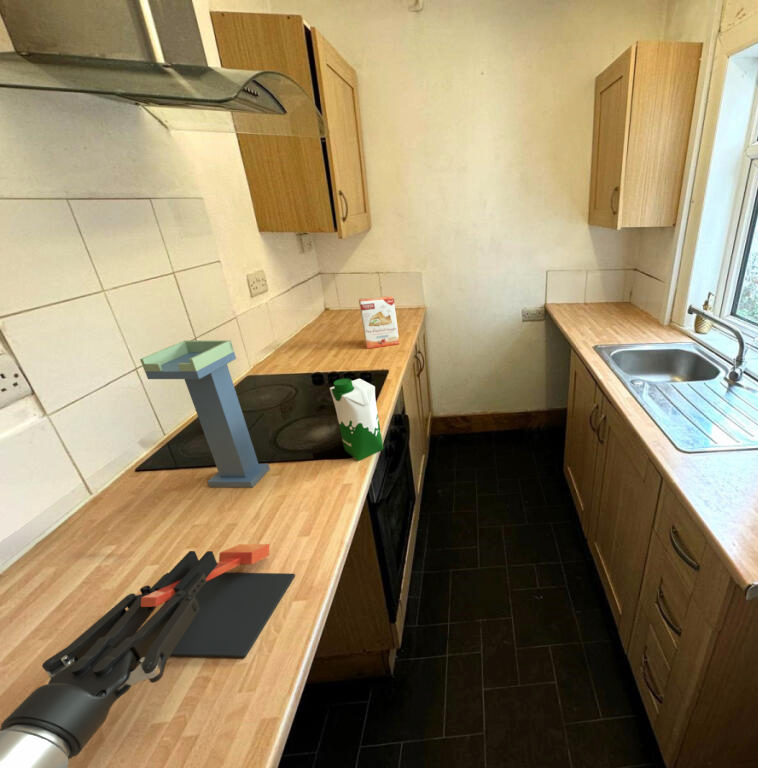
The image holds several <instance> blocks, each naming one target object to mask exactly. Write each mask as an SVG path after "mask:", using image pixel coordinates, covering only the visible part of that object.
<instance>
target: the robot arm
mask: <svg viewBox="0 0 758 768" xmlns="http://www.w3.org/2000/svg"><path fill="white" fill-rule="evenodd" d="M217 563H218V561H217V560H216V557H215V555H214V552H213V551H212V550H207V551H206V552H205V553H203V555H202V556H201V557H200V558H199V557H198V556H197V553H196V551H195V550H189V551H188V552H187V553H186V554H185V555H184V556H183V557H182V559H180V560H179V561H178V563H176V565H174V567H173V568H172V569H171V570H170V571H169V572H166V573H165V574H163V575H162V576H161V577H160V578H159V579H158V580H157V581H156V582H155V584H153V586H150V585H144V586H142V587H141V588H140V589H139V590H140V593H141V594H137V595H136V593H129V594H127V595H126V596H124V598H122V599H121V600H120V601H119V602H118V603H116V604H115V605H114V606H113V607H111V609H110V610H109V611H107V612H106V613H105V614H104V615H102V616H101V617H100V618H99V619H98V620H96V621H95V622H94V623H93V624H92V625H91V626H89V628H87V629H86V630H85V631H84V632H82V634H80V635H79V636H78V637H77V638H76V639H75V640H73V641H72V642H71V643H70V644H69V645H68V646H67V647H66V646H65V648H63V649H62V650H60V651H59V652H56V654H53V655H52V656H51V657H49V658H48V659H46V660H45V661H43V663H42V665H41V667H42V668H43V669H44V671H45V672H46V674H47V675H48V676H49V678H50V679H49V681H48V683H46V684H43V685H41V686H39V687H37V688H36V689H35V690H33V691H32V692H31V693H30V694H29V695H28V696H27V697H26V698H25V699H24V700H23V702H21V703H20V704H19V705H18V706H17V707H16V708H15V709H14V710H13V711H12V712H11V713H10V714H9V715H8V716H7V717H6V718H5V719H4V720H3V722H1V725H0V768H68V767H69V763H70V759H72V758H74V757H76V756H77V755H79V754H80V753H81V752H82V751H83V749H84V748H85V747H86V745H88V743H89V742H90V740H91V739H92V738H93V737H94V735H96V733H97V732H98V731H99V730H100V729H101V727H102V726H103V724H104V723H105V722H106V720H107V719H108V715H109V713H110V710H111V708H112V707H113V705H114V703H116V701H117V700H119V699H120V698H121V697H122V696H124V695H125V694H126V693H127V692H128V691H129V690H130V689H131V688H132V686H133V685H135V684H138V683H140V682H143V681H146V680H148V681H149V683H151V684H152V683H157V682H158V681H159V680H161V679H162V677H163V676H164V673H165V668H166V664H167V661H168V660H169V659H170V655H171V654H172V652H173V651H174V649H175V647H176V646H177V644H178V643H179V641H180V640H181V638H182V637H183V635H184V633H185V632H186V630H187V629H188V627H189V626H190V624H191V623H192V621H193V619H194V618H195V616H196V615H197V613H198V612H199V610H200V607H199V605H198V602H197V600H196V598H195V595H196V594H197V593H198V592H199V590H200V589H201V588H202V587H203V586H204V584H205V583H206V581H207V579H206V578H207V577H208V575H209V574H210V573H211V572H212V571H213V569H214V568H215V567H216V566H217V565H218V564H217ZM181 579H182V580H181ZM179 580H181V581H180V582H179V583H178V584H177V585H176V586H175V587H174V588H173V589H174V590H175V592H176V593H175V594H174V595H173V596H172V597H171V598H170V599H169V600H168V601H166V603H165V602H164V603H165V604H164V603H163V604H164V605H163V604H162V605H161V607H159V609H158V610H157V611H156V612H155V613H154V614H153V612H154V611H155V610H156V608H158V606H156V607H141V598H142V597H144V596H146V595H148V594H150V593H153V592H155V591H157V590H159V589H161V588H164V587H166V586H168V585H170V584H173V583H175V582H177V581H179ZM126 608H127V610H126ZM151 614H153V615H152V616H151ZM150 616H151V617H150ZM149 617H150V618H149ZM147 619H148V620H147Z"/></svg>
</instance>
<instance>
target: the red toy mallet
mask: <svg viewBox="0 0 758 768" xmlns="http://www.w3.org/2000/svg"><path fill="white" fill-rule="evenodd" d="M218 556H219V558H218V562H217V564H218V565H217V566H216V567H215V568H214V569H213V571H212V572H211V573H210V574H209V575H208V577H207V578H206V579H207V581H209V580H211V579H213V578H215V577H217V576H219V575H221V574H223V573H228V572H229V571H230V570H233V569H235V568H237V567H239V566H241V565H254V564H255V563H257V562H259V561H261V560H263V559H265V558H267V557H269V556H270V543H242V544H241V543H240V544H236V545H235V546H232V547H229V548H228V549H225V550H222V551H221V552H219V554H218ZM181 580H182V579H181ZM181 580H179V581H177V582H175V583H173V584H170V585H168V586H166V587H164V588H161V589H159V590H157V591H155V592H153V593H150V594H148V595H146V596H144V597H142V598H141V607H156V606H157V607H159V606H160V605H163V604H164V603H165V602H166V601H168V600H169V599H170V598H171V597H172V596H173V595H174V594H175V593H176V592H175V590H174V589H173V588H174V587H175V586H176V585H177V584H178V583H179V582H180V581H181ZM207 581H206V582H207ZM157 607H156V608H157Z"/></svg>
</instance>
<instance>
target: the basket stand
mask: <svg viewBox="0 0 758 768" xmlns="http://www.w3.org/2000/svg"><path fill="white" fill-rule="evenodd" d="M235 360H237V356H236V353H235V350H234V347H233V343H232V340H230V339H229V340H226V339H225V340H217V339H216V340H183V341H179V342H178V343H174V344H172V345H171V346H168V347H166V348H162V349H161V350H159V351H156V352H153V353H151V354H149V355H146V356H144V357H141V358H140V359H139V361H140V363H141V365H142V368H143V371H144V373H145V375H146V377H147V380H184V382H185V385H186V388H187V391H188V393H189V396H190V399H191V401H192V405H193V407H194V410H195V412H196V415H197V418H198V420H199V423H200V426H201V429H202V431H203V435H204V437H205V439H206V442H207V445H208V447H209V450H210V452H211V455H212V458H213V462H214V464H215V467H216V469H217V472H216V473H215V474H214V475H213V476H212V477H210V479H209V480H207V484H208V487H209V488H240V489H241V488H245V489H247V488H249V489H250V488H251V489H252V488H254V487H255V486H256V485H257V484H258V483H259V482H260V480H261V479H263V477H264V476H265V475H266V474H267V473H268V472H269V471H270V470H271V467H270V464H269V463H259V461H258V457H257V454H256V451H255V448H254V444H253V442H252V438H251V435H250V432H249V429H248V426H247V423H246V420H245V416H244V413H243V410H242V407H241V404H240V401H239V397H238V394H237V391H236V389H235V385H234V381H233V379H232V375H231V372H230V369H229V367H228V364H229V363H232V362H233V361H235Z"/></svg>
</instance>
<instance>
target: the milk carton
mask: <svg viewBox="0 0 758 768" xmlns="http://www.w3.org/2000/svg"><path fill="white" fill-rule="evenodd" d="M329 391H330V394H331V397H332V401H333V405H334V408H335V412H336V418H337V421H338V426H339V431H340V436H341V440H342V445H343V448H344V449H343V450H344V452H346V453H347V454H348V455H349V456H351V457H352V458H353V459H355V460H356V461H358V462H359V461H362V460H364V459H366V458H369V457H370V456H372V455H374V454H376V453H379V452H381V451H383V450H384V444H383V443H384V442H383V437H382V431H381V426H380V425H381V424H380V419H379V413H378V407H377V400H376V386H375V385H373V384H371V383H369V382H367V381H365V380H364V379H361V378H356V379H354V380H352V379H351V378H339V379H336V380H335V381H334V382H333V386H331V387H329Z"/></svg>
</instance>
